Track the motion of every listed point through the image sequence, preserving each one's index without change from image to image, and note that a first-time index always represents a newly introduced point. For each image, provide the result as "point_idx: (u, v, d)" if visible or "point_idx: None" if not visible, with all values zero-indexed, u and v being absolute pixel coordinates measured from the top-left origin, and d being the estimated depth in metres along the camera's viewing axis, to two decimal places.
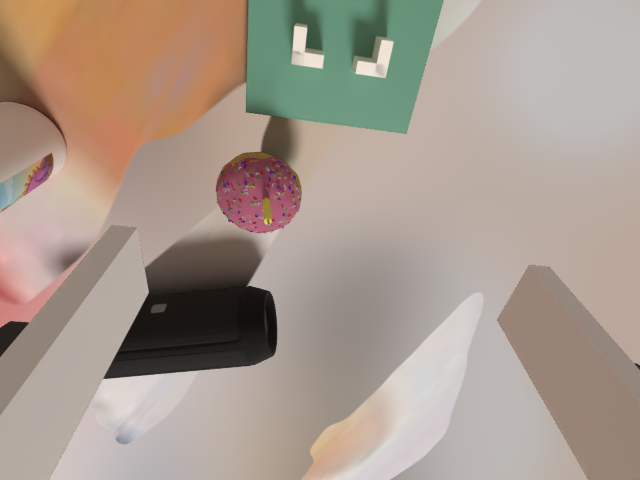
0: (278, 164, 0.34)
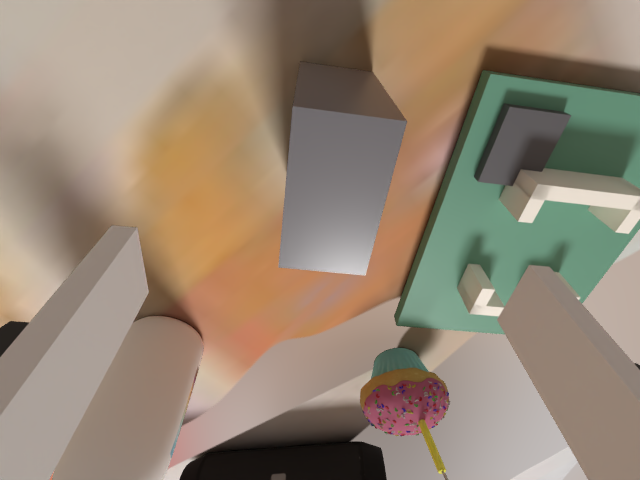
0: (434, 386, 0.33)
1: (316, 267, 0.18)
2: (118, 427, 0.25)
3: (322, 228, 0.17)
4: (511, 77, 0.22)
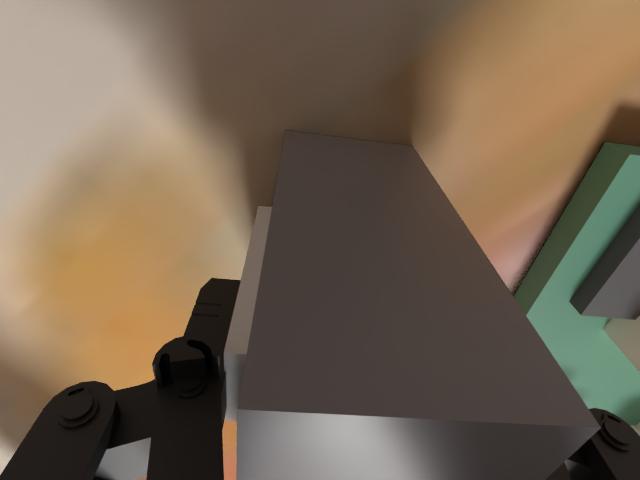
0: None
1: None
2: None
3: None
4: None
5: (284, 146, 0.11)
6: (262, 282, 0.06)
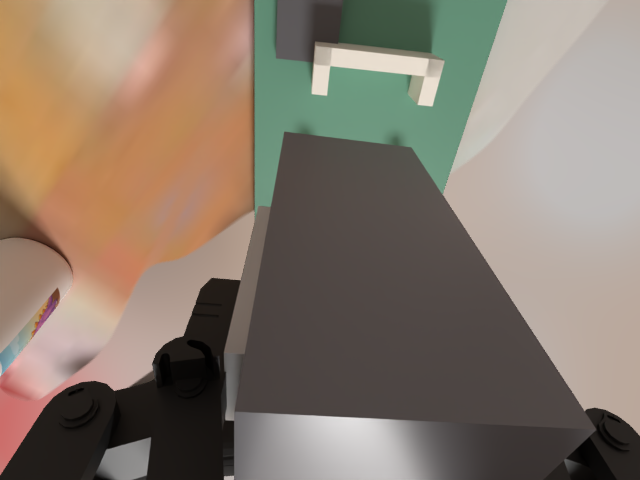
0: None
1: None
2: None
3: None
4: None
5: (283, 147, 0.11)
6: (260, 284, 0.06)
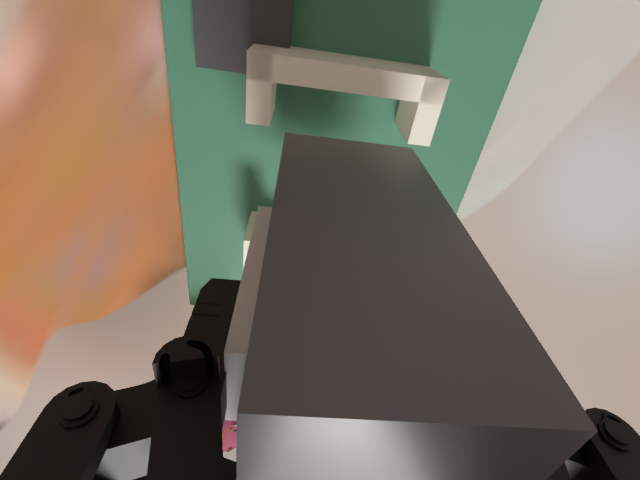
0: None
1: None
2: None
3: None
4: None
5: (284, 148, 0.11)
6: (262, 286, 0.06)
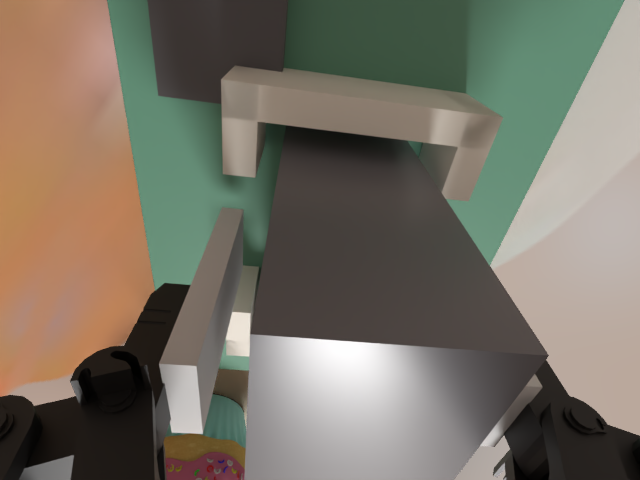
0: (218, 467, 0.20)
1: None
2: None
3: None
4: None
5: (286, 136, 0.12)
6: (268, 245, 0.07)
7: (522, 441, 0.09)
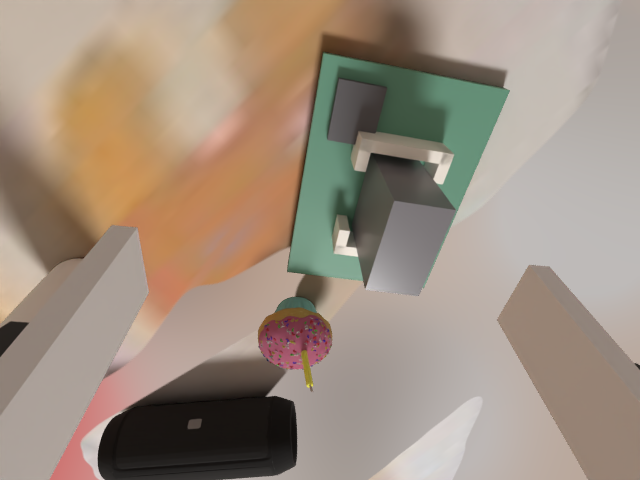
0: (315, 322, 0.39)
1: (388, 290, 0.29)
2: None
3: (397, 266, 0.28)
4: (340, 57, 0.29)
5: (374, 157, 0.32)
6: (388, 187, 0.26)
7: None
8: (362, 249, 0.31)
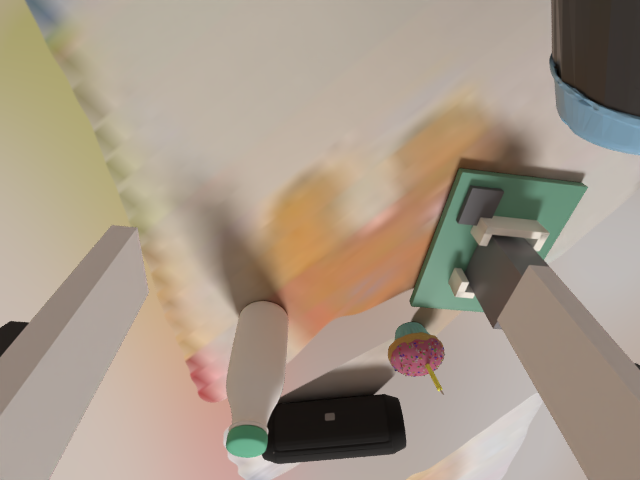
0: (435, 343, 0.54)
1: None
2: (261, 359, 0.46)
3: None
4: (473, 173, 0.43)
5: None
6: (514, 265, 0.40)
7: None
8: (484, 298, 0.46)
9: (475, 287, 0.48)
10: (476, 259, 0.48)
